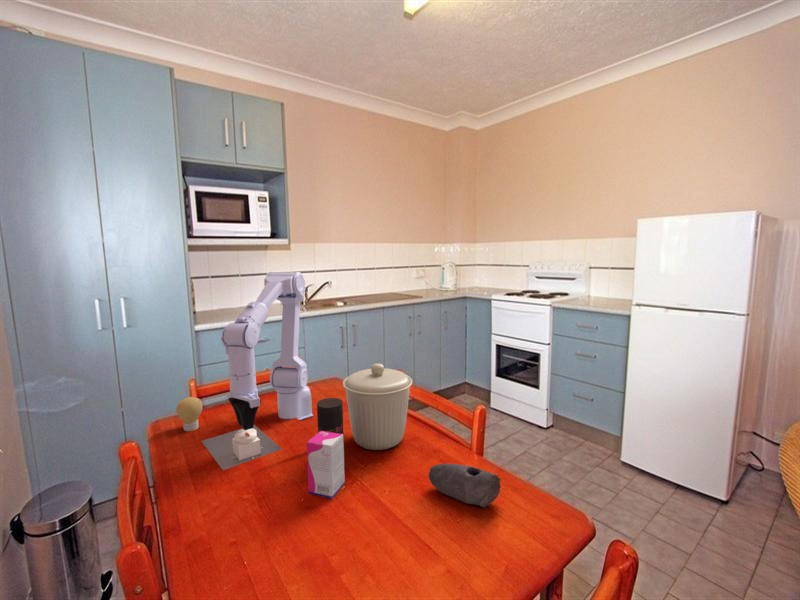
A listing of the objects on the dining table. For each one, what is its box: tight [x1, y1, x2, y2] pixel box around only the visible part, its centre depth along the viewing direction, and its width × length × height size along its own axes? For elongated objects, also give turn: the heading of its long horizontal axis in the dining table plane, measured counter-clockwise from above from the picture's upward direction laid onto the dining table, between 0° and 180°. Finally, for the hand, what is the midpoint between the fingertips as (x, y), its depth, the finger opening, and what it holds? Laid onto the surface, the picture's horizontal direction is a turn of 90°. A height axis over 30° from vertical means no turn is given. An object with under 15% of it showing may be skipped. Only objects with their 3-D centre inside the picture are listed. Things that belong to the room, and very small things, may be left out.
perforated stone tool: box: [428, 463, 502, 508], centre depth 79 cm, size 15×5×7 cm, turn 57°
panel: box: [200, 424, 282, 471], centre depth 98 cm, size 14×18×4 cm
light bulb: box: [175, 396, 204, 432], centre depth 108 cm, size 6×6×10 cm
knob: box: [232, 428, 261, 460], centre depth 94 cm, size 5×5×5 cm
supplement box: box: [306, 431, 346, 500], centre depth 82 cm, size 6×6×12 cm
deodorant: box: [316, 397, 345, 445], centre depth 91 cm, size 6×6×15 cm
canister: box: [342, 362, 413, 451], centre depth 101 cm, size 18×18×21 cm
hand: (246, 426), depth 94 cm, fingers open, 2 cm apart
